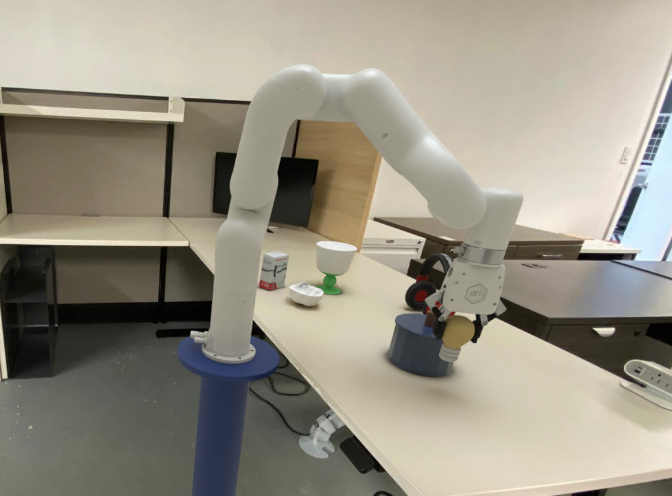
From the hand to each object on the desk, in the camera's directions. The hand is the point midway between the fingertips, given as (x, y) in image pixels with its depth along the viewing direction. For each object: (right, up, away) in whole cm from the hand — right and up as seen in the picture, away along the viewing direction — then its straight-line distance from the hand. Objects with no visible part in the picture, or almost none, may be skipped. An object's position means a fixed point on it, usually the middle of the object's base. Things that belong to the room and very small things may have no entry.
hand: (454, 338), depth 98 cm
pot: (0, -6, +18) cm, 18 cm away
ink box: (-30, +18, +65) cm, 74 cm away
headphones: (+17, +7, +49) cm, 52 cm away
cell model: (-21, +11, +51) cm, 56 cm away
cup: (-9, +17, +67) cm, 69 cm away
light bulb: (0, -5, +2) cm, 5 cm away
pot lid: (+1, +3, +14) cm, 14 cm away
